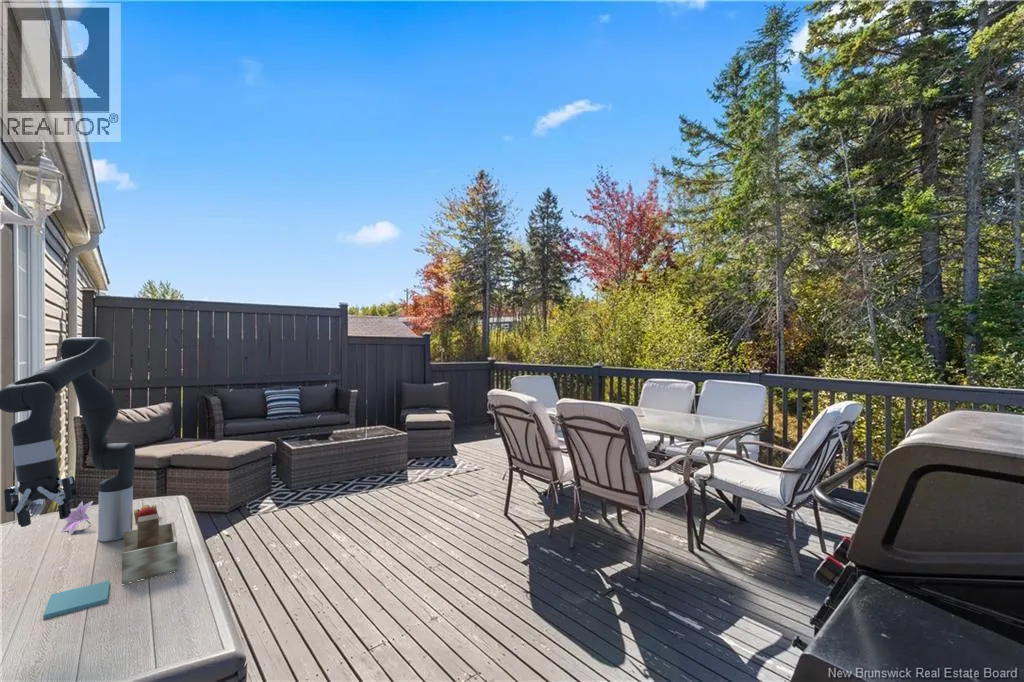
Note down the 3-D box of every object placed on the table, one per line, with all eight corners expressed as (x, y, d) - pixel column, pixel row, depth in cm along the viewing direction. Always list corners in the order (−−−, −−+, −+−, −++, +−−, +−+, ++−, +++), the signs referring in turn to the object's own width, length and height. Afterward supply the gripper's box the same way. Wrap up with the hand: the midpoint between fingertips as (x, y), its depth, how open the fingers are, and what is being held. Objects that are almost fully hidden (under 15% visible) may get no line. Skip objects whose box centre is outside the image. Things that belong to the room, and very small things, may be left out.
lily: (65, 528, 172) (51, 511, 167) (103, 509, 179) (91, 492, 174) (67, 547, 164) (53, 529, 160) (108, 527, 171) (95, 509, 167)
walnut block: (137, 561, 138) (137, 522, 138) (137, 555, 142) (137, 517, 142) (158, 557, 141) (158, 518, 141) (157, 551, 145) (158, 513, 145)
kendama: (130, 518, 183) (131, 525, 170) (134, 501, 185) (135, 507, 171) (154, 517, 188) (157, 524, 175) (158, 501, 190) (160, 507, 176)
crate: (121, 585, 130) (122, 553, 130) (124, 559, 146) (124, 531, 146) (177, 571, 138) (177, 541, 138) (173, 548, 154) (174, 521, 154)
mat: (43, 619, 114) (43, 615, 114) (50, 598, 124) (50, 594, 124) (107, 602, 122) (107, 598, 122) (109, 583, 131) (109, 580, 131)
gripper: (78, 451, 123) (87, 511, 123) (15, 462, 120) (25, 523, 120) (57, 457, 116) (66, 520, 116) (-11, 469, 113) (-1, 534, 113)
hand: (45, 522), depth 118 cm, fingers open, 8 cm apart
